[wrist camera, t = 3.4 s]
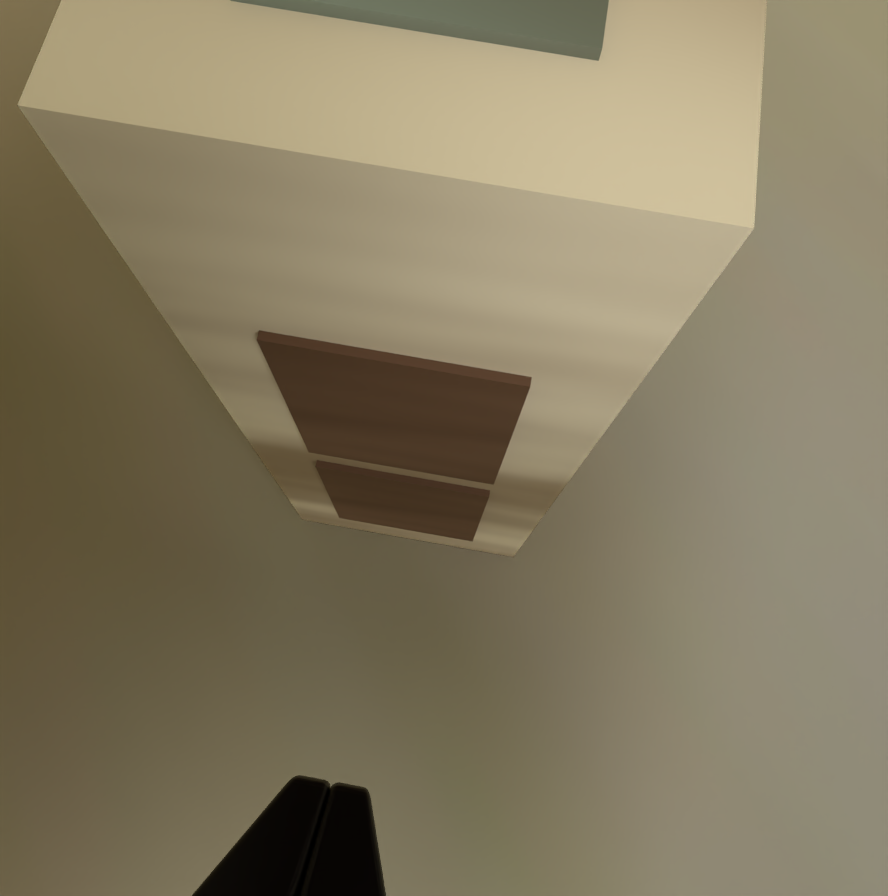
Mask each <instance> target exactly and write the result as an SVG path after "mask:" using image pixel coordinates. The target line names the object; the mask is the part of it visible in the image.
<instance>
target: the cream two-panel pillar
mask: <svg viewBox="0 0 888 896" xmlns="http://www.w3.org/2000/svg"><path fill="white" fill-rule="evenodd" d="M766 6H767V0H61V2H60V5H59V7H58V9H57V12H56V14H55V17H54V19H53V21H52V24H51V26H50V29H49V31H48V33H47V36H46V38H45V40H44V43H43V45H42V48H41V50H40V52H39V55H38V57H37V60H36V62H35V64H34V67H33V69H32V71H31V74H30V76H29V79H28V81H27V83H26V86H25V88H24V90H23V93H22V95H21V98H20V100H19V102H18V105H17V106H18V107H19V108H20V110H21V111H22V113H23V114H24V116H25V117H26V119H27V120H28V122H29V123H30V124H31V126H32V127H33V129H34V130H35V132H36V133H37V135H38V136H39V138H40V139H41V140H42V142H43V143H44V145H45V146H46V148H47V149H48V151H49V152H50V154H51V155H52V156H53V158H54V159H55V161H56V162H57V164H58V165H59V167H60V168H61V170H62V171H63V172H64V174H65V175H66V177H67V178H68V180H69V181H70V183H71V184H72V186H73V187H74V188H75V190H76V191H77V193H78V194H79V196H80V197H81V199H82V200H83V201H84V203H85V204H86V206H87V207H88V209H89V210H90V212H91V213H92V215H93V216H94V217H95V219H96V220H97V222H98V223H99V225H100V226H101V228H102V229H103V231H104V232H105V233H106V235H107V236H108V238H109V239H110V241H111V242H112V244H113V245H114V247H115V248H116V249H117V251H118V252H119V254H120V255H121V257H122V258H123V260H124V261H125V263H126V264H127V265H128V267H129V268H130V270H131V271H132V273H133V274H134V276H135V277H136V279H137V280H138V281H139V283H140V284H141V286H142V287H143V289H144V290H145V292H146V293H147V295H148V296H149V297H150V299H151V300H152V302H153V303H154V305H155V306H156V308H157V309H158V310H159V312H160V313H161V315H162V316H163V318H164V319H165V321H166V322H167V324H168V325H169V326H170V328H171V329H172V331H173V332H174V334H175V335H176V337H177V338H178V340H179V341H180V342H181V344H182V345H183V347H184V348H185V350H186V351H187V353H188V354H189V356H190V357H191V358H192V360H193V361H194V363H195V364H196V366H197V367H198V369H199V370H200V372H201V373H202V374H203V376H204V377H205V379H206V380H207V382H208V383H209V385H210V386H211V388H212V389H213V390H214V392H215V393H216V395H217V396H218V398H219V399H220V401H221V402H222V404H223V405H224V406H225V408H226V409H227V411H228V412H229V414H230V415H231V417H232V418H233V419H234V421H235V422H236V424H237V425H238V427H239V428H240V430H241V431H242V433H243V434H244V435H245V437H246V438H247V440H248V441H249V443H250V444H251V446H252V447H253V449H254V450H255V451H256V453H257V454H258V456H259V457H260V459H261V460H262V462H263V463H264V465H265V466H266V467H267V469H268V470H269V472H270V473H271V475H272V476H273V478H274V479H275V481H276V482H277V483H278V485H279V486H280V488H281V489H282V491H283V492H284V494H285V495H286V497H287V498H288V499H289V501H290V502H291V504H292V505H293V507H294V508H295V510H296V511H297V512H298V514H299V515H300V517H301V518H302V520H307V521H313V522H318V523H324V524H329V525H335V526H341V527H346V528H352V529H358V530H363V531H369V532H375V533H380V534H386V535H392V536H397V537H403V538H409V539H414V540H420V541H426V542H431V543H437V544H443V545H448V546H454V547H460V548H465V549H471V550H477V551H482V552H488V553H493V554H499V555H505V556H510V557H514V556H515V554H516V553H517V551H518V550H519V549H520V547H521V546H522V545H523V543H524V542H525V540H526V539H527V538H528V536H529V535H530V534H531V532H532V531H533V530H534V528H535V527H536V525H537V524H538V523H539V521H540V520H541V519H542V517H543V516H544V515H545V513H546V512H547V510H548V509H549V508H550V506H551V505H552V504H553V502H554V501H555V500H556V498H557V497H558V495H559V494H560V493H561V491H562V490H563V489H564V487H565V486H566V484H567V483H568V482H569V480H570V479H571V478H572V476H573V475H574V474H575V472H576V471H577V469H578V468H579V467H580V465H581V464H582V463H583V461H584V460H585V459H586V457H587V456H588V454H589V453H590V452H591V450H592V449H593V448H594V446H595V445H596V443H597V442H598V441H599V439H600V438H601V437H602V435H603V434H604V433H605V431H606V430H607V428H608V427H609V426H610V424H611V423H612V422H613V420H614V419H615V418H616V416H617V415H618V413H619V412H620V411H621V409H622V408H623V407H624V405H625V404H626V403H627V401H628V400H629V398H630V397H631V396H632V394H633V393H634V392H635V390H636V389H637V387H638V386H639V385H640V383H641V382H642V381H643V379H644V378H645V377H646V375H647V374H648V372H649V371H650V370H651V368H652V367H653V366H654V364H655V363H656V362H657V360H658V359H659V357H660V356H661V355H662V353H663V352H664V351H665V349H666V348H667V347H668V345H669V344H670V342H671V341H672V340H673V338H674V337H675V336H676V334H677V333H678V331H679V330H680V329H681V327H682V326H683V325H684V323H685V322H686V321H687V319H688V318H689V316H690V315H691V314H692V312H693V311H694V310H695V308H696V307H697V306H698V304H699V303H700V301H701V300H702V299H703V297H704V296H705V295H706V293H707V292H708V290H709V289H710V288H711V286H712V285H713V284H714V282H715V281H716V280H717V278H718V277H719V275H720V274H721V273H722V271H723V270H724V269H725V267H726V266H727V265H728V263H729V262H730V260H731V259H732V258H733V256H734V255H735V254H736V252H737V251H738V250H739V248H740V247H741V245H742V244H743V243H744V241H745V240H746V239H747V237H748V236H749V234H750V233H751V232H752V230H753V229H754V220H755V202H756V184H757V166H758V149H759V131H760V113H761V95H762V77H763V60H764V42H765V24H766Z"/></svg>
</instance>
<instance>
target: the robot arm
mask: <svg viewBox="0 0 888 896" xmlns="http://www.w3.org/2000/svg"><path fill="white" fill-rule="evenodd" d="M192 896H386V892H385V886H384V880H383V873H382V867H381V861H380V855H379V848H378V842H377V836H376V829H375V823H374V817H373V810H372V804H371V798H370V794H369V792H368V790H367V789H366V788H364V787H360V786H355V785H349V784H344V783H335V784H333V785H332V786H331V787H330V783H329V782H328V781H326V780H322V779H317V778H311V777H306V776H295V777H293V778H292V779H291V780H290V781H289V782H288V783H287V784H286V785H285V786H284V787H283V788H282V790H281V791H280V792H279V793H278V794H277V796H276V797H275V798H274V799H273V800H272V801H271V803H270V804H269V805H268V806H267V807H266V809H265V810H264V811H263V812H262V813H261V814H260V816H259V817H258V818H257V819H256V820H255V822H254V823H253V824H252V825H251V826H250V827H249V829H248V830H247V831H246V832H245V833H244V835H243V836H242V837H241V838H240V839H239V840H238V842H237V843H236V844H235V845H234V846H233V848H232V849H231V850H230V851H229V852H228V853H227V855H226V856H225V857H224V858H223V859H222V861H221V862H220V863H219V864H218V865H217V866H216V868H215V869H214V870H213V871H212V872H211V874H210V875H209V876H208V877H207V878H206V879H205V881H204V882H203V883H202V884H201V885H200V887H199V888H198V889H197V890H196V891H195V892H194V894H193V895H192Z"/></svg>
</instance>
